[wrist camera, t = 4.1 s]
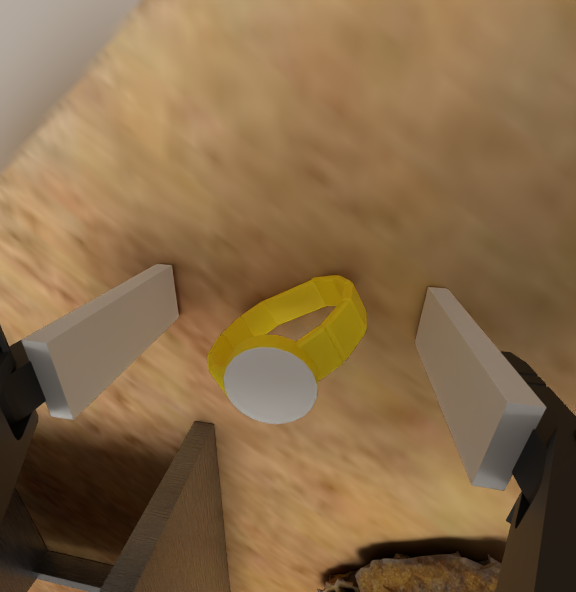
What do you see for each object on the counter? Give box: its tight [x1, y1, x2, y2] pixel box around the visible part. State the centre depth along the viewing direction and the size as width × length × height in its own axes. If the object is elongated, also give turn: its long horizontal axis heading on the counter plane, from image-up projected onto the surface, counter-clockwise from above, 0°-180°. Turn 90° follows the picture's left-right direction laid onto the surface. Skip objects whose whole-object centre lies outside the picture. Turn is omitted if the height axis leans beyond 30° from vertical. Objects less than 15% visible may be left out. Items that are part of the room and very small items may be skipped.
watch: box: [207, 275, 367, 424], centre depth 11 cm, size 6×3×6 cm, turn 119°
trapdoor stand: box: [0, 422, 230, 592], centre depth 19 cm, size 19×21×9 cm
